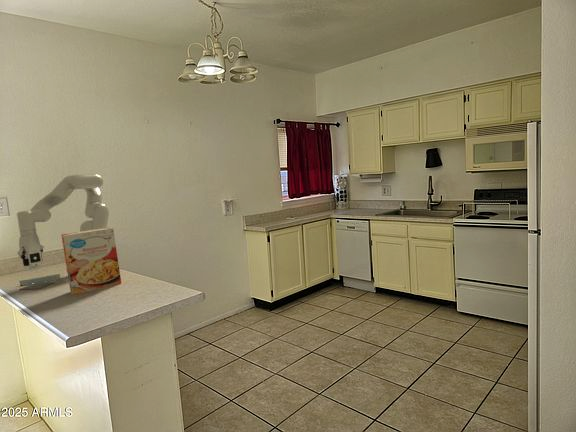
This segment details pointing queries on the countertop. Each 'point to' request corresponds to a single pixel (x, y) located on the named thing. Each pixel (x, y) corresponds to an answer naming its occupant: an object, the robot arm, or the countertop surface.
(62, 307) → the countertop surface
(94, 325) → the countertop surface
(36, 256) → the security camera
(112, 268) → the pasta box
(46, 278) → the low wall
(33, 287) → the mat
